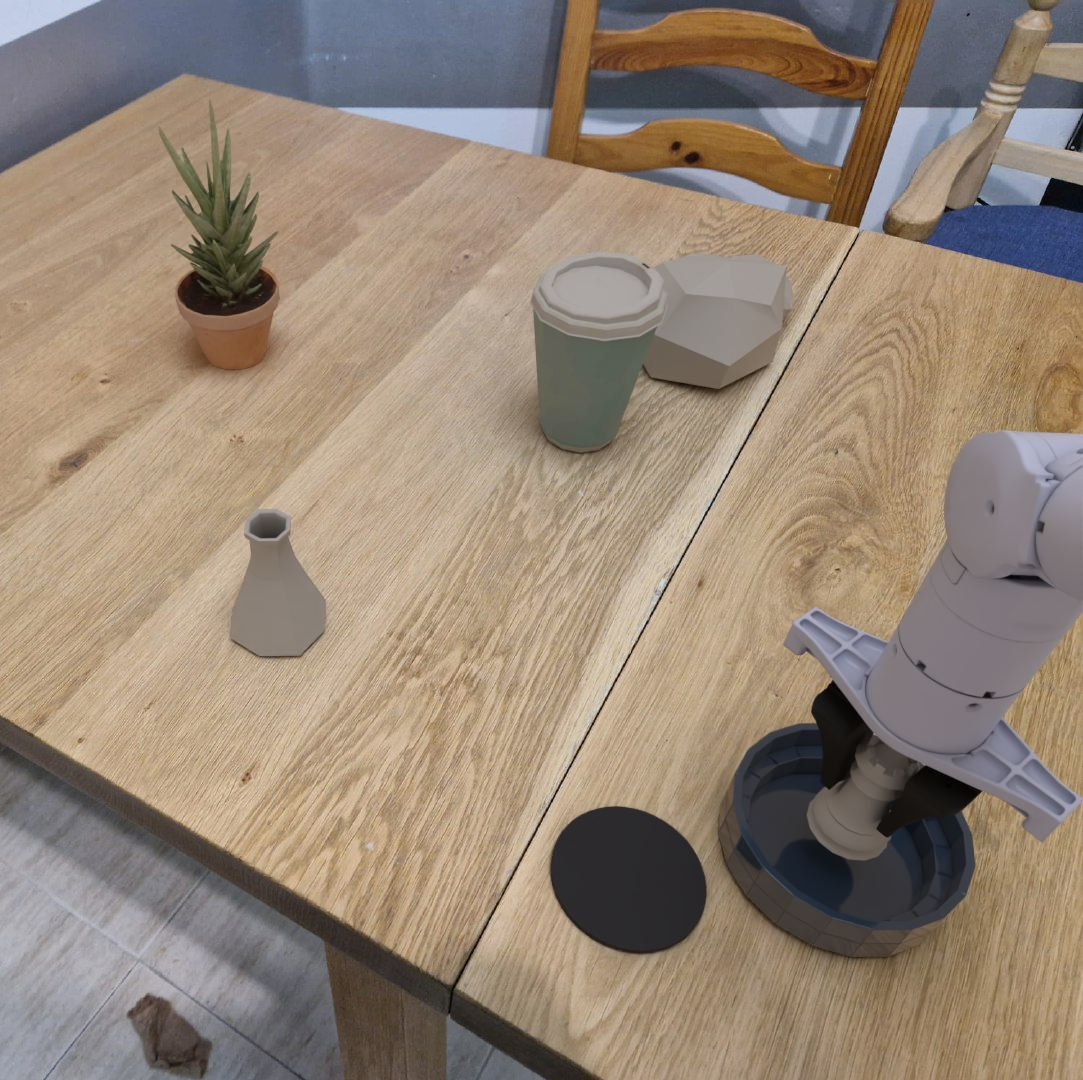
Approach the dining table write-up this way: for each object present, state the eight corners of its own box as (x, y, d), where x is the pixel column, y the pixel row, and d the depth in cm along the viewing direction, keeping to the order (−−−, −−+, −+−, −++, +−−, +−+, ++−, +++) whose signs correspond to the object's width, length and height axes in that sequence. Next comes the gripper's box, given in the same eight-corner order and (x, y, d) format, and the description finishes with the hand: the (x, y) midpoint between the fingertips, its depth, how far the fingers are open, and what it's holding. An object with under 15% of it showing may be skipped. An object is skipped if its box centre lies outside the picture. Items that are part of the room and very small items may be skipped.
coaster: (737, 893, 59) (739, 890, 58) (629, 986, 55) (630, 983, 55) (624, 783, 64) (625, 780, 63) (518, 862, 60) (519, 859, 60)
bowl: (991, 873, 59) (1021, 840, 56) (856, 1008, 54) (882, 979, 51) (806, 724, 67) (825, 688, 64) (672, 830, 61) (686, 796, 59)
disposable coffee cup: (558, 483, 84) (584, 330, 73) (492, 411, 90) (507, 262, 80) (662, 446, 87) (701, 294, 76) (590, 379, 94) (617, 232, 83)
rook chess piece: (804, 853, 57) (850, 777, 52) (804, 786, 60) (847, 708, 55) (887, 873, 56) (944, 799, 51) (883, 805, 59) (936, 728, 54)
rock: (575, 307, 102) (589, 219, 95) (750, 276, 106) (776, 189, 99) (661, 414, 90) (684, 322, 83) (855, 375, 93) (893, 283, 87)
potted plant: (180, 383, 94) (133, 120, 76) (191, 326, 101) (150, 72, 83) (287, 381, 94) (264, 118, 76) (290, 323, 101) (270, 70, 83)
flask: (252, 575, 77) (238, 478, 70) (341, 596, 75) (336, 499, 68) (213, 646, 72) (194, 550, 65) (307, 670, 70) (299, 574, 63)
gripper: (1170, 710, 44) (1028, 858, 53) (878, 523, 52) (800, 681, 62) (1086, 795, 41) (952, 935, 51) (791, 583, 49) (724, 738, 59)
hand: (863, 800), depth 56 cm, fingers closed on rook chess piece, 3 cm apart
